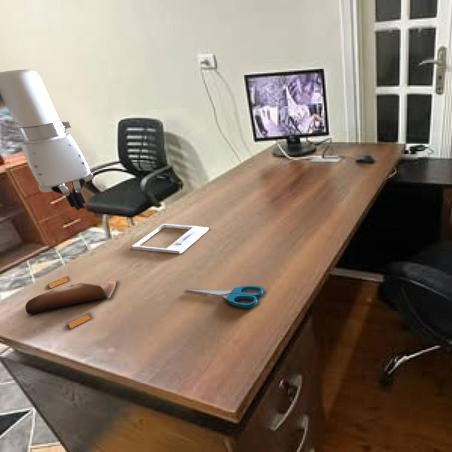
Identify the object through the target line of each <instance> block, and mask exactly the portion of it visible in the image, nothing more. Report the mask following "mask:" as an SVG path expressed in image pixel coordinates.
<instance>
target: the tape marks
mask: <svg viewBox="0 0 452 452" xmlns="http://www.w3.org/2000/svg"><path fill="white" fill-rule="evenodd" d="M67 282H68V279H67V278H66V277H63V278H61V279H59V280H56V281H54V282H52V283H50V284H48V287H49V288H50V289H53V288H56V287H57V286H59V285H62V284H65V283H67ZM90 320H91V318H90V316H89V315H88V314H85V315H82V316H81V317H78V318H76V319H74V320H72V321H70V322H68V327H69V329H70V330H72V329H74V328H76V327H77V326H79V325H82V324H83V323H86V322H88V321H90Z"/></svg>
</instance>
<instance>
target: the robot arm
mask: <svg viewBox="0 0 452 452" xmlns="http://www.w3.org/2000/svg"><path fill="white" fill-rule="evenodd" d="M6 109H7V110H8V112H9V115H10V116H11V118H12V120H13V122H14V124H15V126H16V127H17V130H18V132H19V134H20V136H21V138H22V140H23V141H21V142H20V146H21V150H22V153H23V155H24V158H25V161H26V163H27V165H28V168H29V170H30V171H31V175H32V176H33V177H34V179H35V181H36V183H37V185H38V189H39V191H40V193H53V192H55V193H58V194H60V195H62V196H64V197H65V199H66V200H67V203H68V205H69V206H70V208H74V209H75V210H76V211H80V210H81V209H82V210H84V209H86V208H85V205H84V204H86V200H85V198H84V196H83V194H82V189H83V187H84V185H85V184H86V183H87V182H90V181H91V180H93V179H94V177H95V176H94V174H93V173H92V172H91V170H90V168H89V167H90V166H89V164H88V162H87V161H86V159H85V157H84V155H83V153H82V151H81V150H80V148H79V146H78V144H77V143H76V141H75V139H74V138H73V136H72V135H71V134H70V133H69V132H66V131H67V130H68V129H71V128H72V126H71V124H70V122H69V121H61V120H60V118H59V116H58V113H57V112H56V109H55V106H54V105H53V102H52V100H51V98H50V95H49V93H48V91H47V89H46V87H45V85H44V82H43V79H42V78H41V76H40V75H39V73H37V72H36V71H35V70H33V69H26V68H25V69H13V70H5V71H0V111H2V110H3V111H4V110H6ZM69 182H70V185H71V187H72V189H71V190H70V189H68V187H67V186H66V185H65V184H66V183H69Z"/></svg>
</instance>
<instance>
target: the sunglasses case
mask: <svg viewBox="0 0 452 452" xmlns="http://www.w3.org/2000/svg"><path fill="white" fill-rule="evenodd" d="M116 286H117V281H115V280H114V281H113V280H106V281H105V280H104V281H95V282H88V283H85V282H79V283H73V284H67V285H64V286H60V287H58V288H54V289H51V290H49V291H46V292H43V293H40V294H39V295H36V296H34V297H32V298H31V299H29V300H28V301H27V302H26V303H25V312H26V314H27V315H32V314H37V313H41V312H45V311H48V310H52V309H55V308H61V307H66V306H71V305H75V304H83V303H87V302H91V301H92V302H93V301H97V300H102V299H111V298H112V295H113V294H114V292H115V289H116Z"/></svg>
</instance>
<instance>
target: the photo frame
mask: <svg viewBox="0 0 452 452" xmlns="http://www.w3.org/2000/svg"><path fill="white" fill-rule="evenodd" d="M164 228H169V229H170V228H172V229H183V230H188V231H186V232H185V233H184V234H183V235H181V236H180V237H179V238H177V239H176V240H175V241H174V242H173V243H171V244H170V245H169V246H167V247H157V246H156V247H155V246H145V245H142V244H144V242H146V241H147V240H149V239H150V238H151V237H153V236H154V235H155V234H157V233H159V232H160V231H162V229H164ZM209 229H210V228H209V227H208V226H196V225H187V224H186V225H184V224H172V223H162V224H161V225H160V226H158V227H157V228H155V229H154V230H152V231H150V232H149V233H148V234H146V235H145V236H143V237H142V238H140V240H138V241H137V242H135V243H134V244H132V245H131V248H132V249H133V250H143V251H152V252H160V253H169V254H171V253H172V254H182V253H184V251H186V250H187V249H188V248H189V247H190V246H192V244H194V243H195V242H197V240H199V239H200V238H201V237H202V236H203V235H204V234H206V233H207V232H208V231H209Z"/></svg>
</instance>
